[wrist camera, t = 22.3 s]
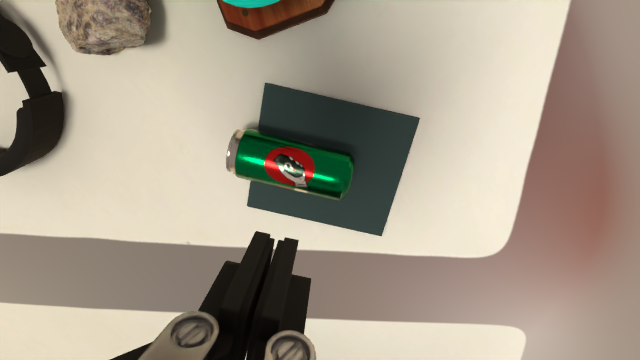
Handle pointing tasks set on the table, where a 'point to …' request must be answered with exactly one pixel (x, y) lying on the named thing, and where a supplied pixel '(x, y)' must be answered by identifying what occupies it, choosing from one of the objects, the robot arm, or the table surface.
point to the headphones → (29, 101)
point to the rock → (103, 24)
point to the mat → (343, 134)
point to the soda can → (290, 163)
